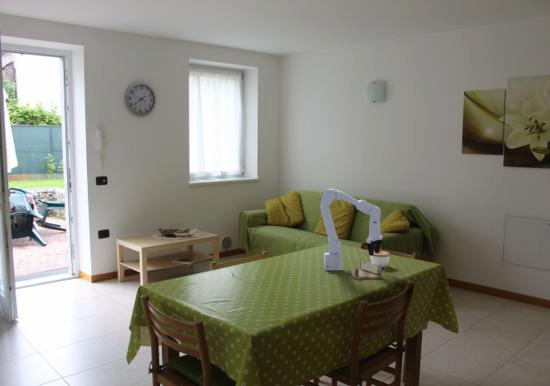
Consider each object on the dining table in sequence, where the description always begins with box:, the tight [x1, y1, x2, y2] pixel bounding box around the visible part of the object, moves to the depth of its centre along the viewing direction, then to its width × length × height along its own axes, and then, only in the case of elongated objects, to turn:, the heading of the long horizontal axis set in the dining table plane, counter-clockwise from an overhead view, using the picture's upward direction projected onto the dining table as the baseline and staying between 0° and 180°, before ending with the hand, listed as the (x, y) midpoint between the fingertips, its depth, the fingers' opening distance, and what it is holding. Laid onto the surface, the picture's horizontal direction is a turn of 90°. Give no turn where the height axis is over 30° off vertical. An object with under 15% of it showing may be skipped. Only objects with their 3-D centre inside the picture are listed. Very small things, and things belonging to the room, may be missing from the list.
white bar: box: [359, 260, 383, 275], centre depth 258 cm, size 14×2×4 cm, turn 36°
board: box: [348, 267, 384, 280], centre depth 256 cm, size 15×15×5 cm
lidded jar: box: [369, 249, 390, 268], centre depth 274 cm, size 11×11×9 cm
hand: (374, 254), depth 262 cm, fingers open, 6 cm apart
